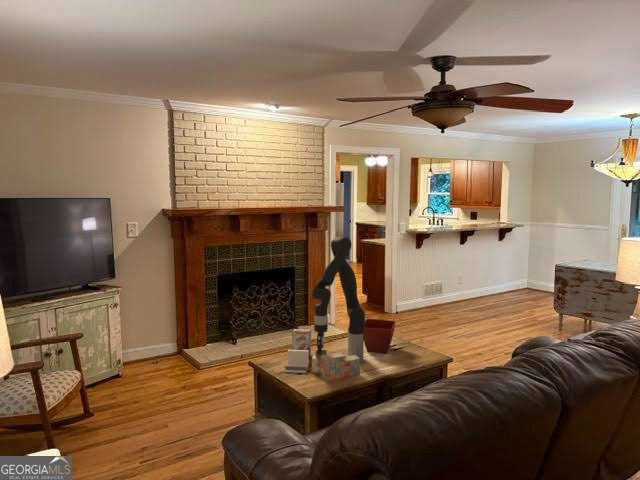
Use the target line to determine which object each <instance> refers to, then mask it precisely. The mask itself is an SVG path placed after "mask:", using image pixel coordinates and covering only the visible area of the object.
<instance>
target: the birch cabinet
mask: <svg viewBox="0 0 640 480" xmlns="http://www.w3.org/2000/svg"><path fill="white" fill-rule="evenodd" d="M327 351H328V350H327V349H322V353H321V354H320V353H317V352H318V349H315V354H313V355H312V356H311V373H320V374H321V366H320V361H321V355H327Z"/></svg>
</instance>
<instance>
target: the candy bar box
mask: <svg viewBox="0 0 640 480" xmlns="http://www.w3.org/2000/svg"><path fill="white" fill-rule="evenodd" d="M291 335H292V338H291V342H292V343H291V344H292V346H291V350H309V357H310V358H311V357H312V356H311V355H312V329H304V328H303V329H302V328H299V329H298V328H293V329H292V334H291Z"/></svg>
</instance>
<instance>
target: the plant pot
mask: <svg viewBox="0 0 640 480" xmlns="http://www.w3.org/2000/svg"><path fill="white" fill-rule="evenodd" d="M395 326H396V321H395V320H389V319H375V318H365V328H364V337H363V345H364V346H365V349H366V351H367V352H371V353H382V354H387V353H388V352H389V350H390V347H391V345H392V341H393V339H394V338H393V337H394V334H395Z"/></svg>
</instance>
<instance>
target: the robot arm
mask: <svg viewBox="0 0 640 480" xmlns="http://www.w3.org/2000/svg"><path fill="white" fill-rule="evenodd" d="M351 248H352V241H351V239H350V238H349V237H347V236H337V237H336V236H335V237H333V238H332V239H331V241H330V249H331V252H332V256H333V259H332V260H331V261H330V262H329V263H328V264H327V266H326V267H325V268H324V271H323V273H322V275H321V278H320V279H319V280H318V281H317V283H316V285H315V286H314V287H313V288H312V292H311V293H312V294H311V295H312V298H313V299H314V300H318V301H321V302H320V303H316V304H315V307H314V316H313V317H314V319H313V320H314V321H313V330H314V332H316V333H317V334H316V347H317V350H318V352H317V353H320V354H321V353H322V350H323V348H324V341H325V333H327V332H328V325H329V323H328V321H329V318H328V309H329V308H328V307H329V304H330V300H331V296H332V292H331V290H330V289H329V288H327V287H331V286H332V285H333V283H334V280H336V279H335V278H336V276H337V274H338V277H339V282H340V286H341V289H342V292H343V295H344V298H345V305H346V312H347V317H348V318H349V324H348V325H349V326H348V328H347V333H348V334H347V336H348V337H347V356H351V355H355V356H357V357H358V358H360V363H364V340H363V337H364V328H365V320H366V313H365V310H364V309H363V307H361V304H360V301H359V298H358V284H357V279H356V278H357V277H356V274H355V271H354V269H353V268H352V266H351V265H350V264H349V263H348V261H347V259H346V257H347V256H348V255H349V252H351Z"/></svg>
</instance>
